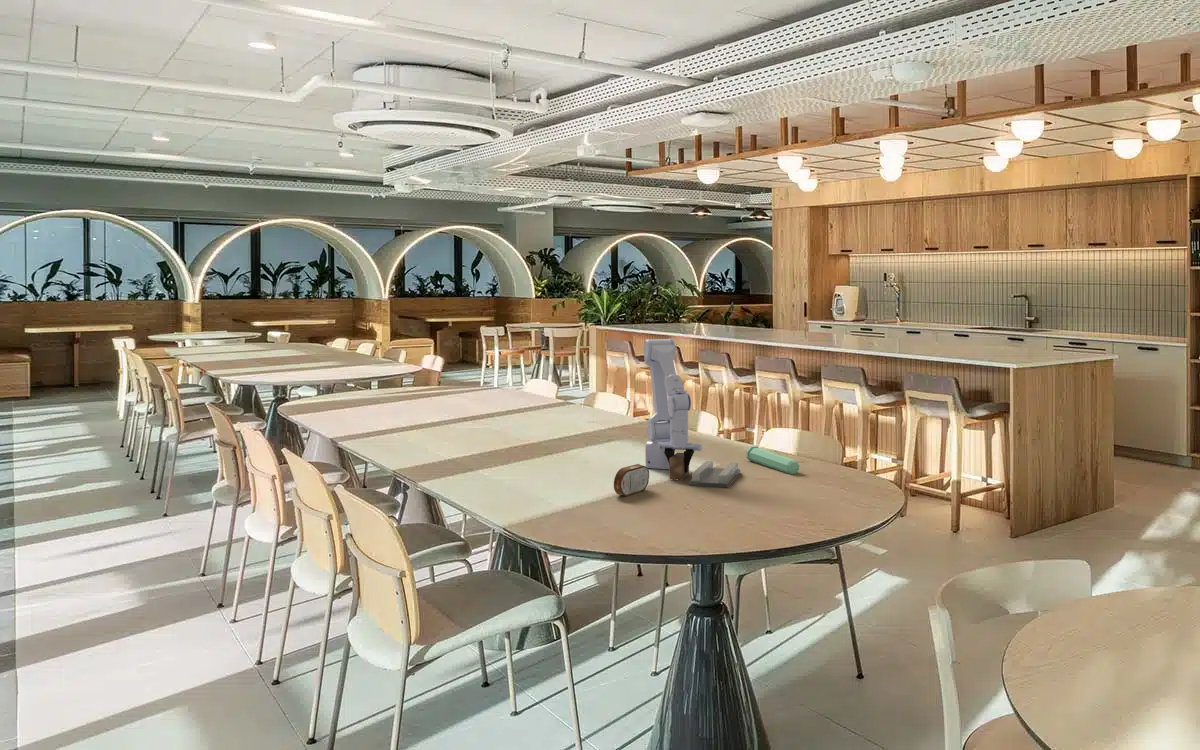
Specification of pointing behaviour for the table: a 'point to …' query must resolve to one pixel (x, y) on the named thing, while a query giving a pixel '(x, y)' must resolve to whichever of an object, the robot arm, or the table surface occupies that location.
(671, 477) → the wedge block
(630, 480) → the tin
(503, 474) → the table surface
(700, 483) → the slot base
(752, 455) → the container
